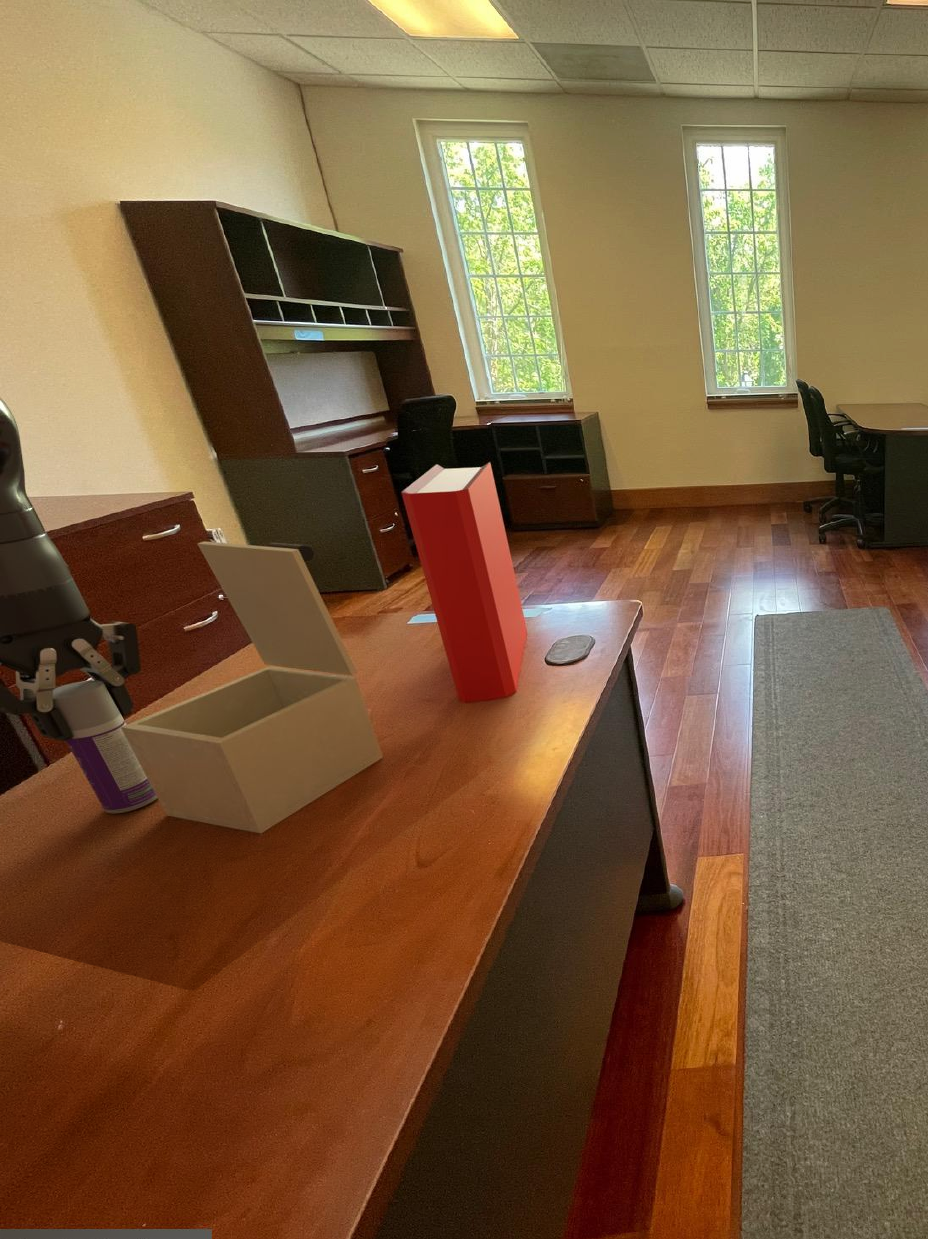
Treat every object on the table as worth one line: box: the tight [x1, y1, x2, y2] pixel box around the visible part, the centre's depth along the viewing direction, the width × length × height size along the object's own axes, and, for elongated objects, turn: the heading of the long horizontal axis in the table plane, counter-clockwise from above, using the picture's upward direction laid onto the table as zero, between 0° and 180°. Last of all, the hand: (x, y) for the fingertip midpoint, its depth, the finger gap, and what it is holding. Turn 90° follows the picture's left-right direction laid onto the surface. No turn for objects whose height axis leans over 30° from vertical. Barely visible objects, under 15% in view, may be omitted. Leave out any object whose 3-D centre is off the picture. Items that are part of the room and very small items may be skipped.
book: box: [401, 461, 528, 704], centre depth 108 cm, size 27×8×32 cm, turn 21°
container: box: [53, 679, 158, 814], centre depth 76 cm, size 5×5×15 cm
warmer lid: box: [197, 540, 358, 677], centre depth 82 cm, size 17×14×5 cm
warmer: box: [121, 665, 384, 834], centre depth 80 cm, size 16×14×12 cm
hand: (93, 726), depth 75 cm, fingers closed on container, 4 cm apart
